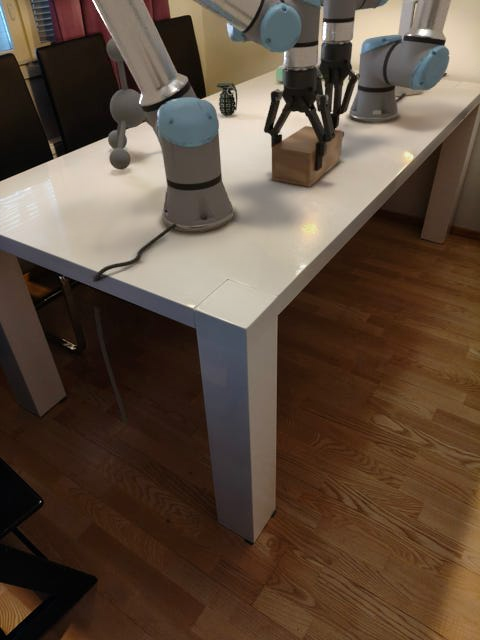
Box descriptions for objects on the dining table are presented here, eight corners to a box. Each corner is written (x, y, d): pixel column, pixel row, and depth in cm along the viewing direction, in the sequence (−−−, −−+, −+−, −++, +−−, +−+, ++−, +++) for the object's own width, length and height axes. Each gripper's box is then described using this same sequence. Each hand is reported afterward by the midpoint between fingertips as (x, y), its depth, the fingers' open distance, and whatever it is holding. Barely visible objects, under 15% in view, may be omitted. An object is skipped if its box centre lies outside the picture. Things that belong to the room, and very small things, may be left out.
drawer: (319, 143, 139) (320, 121, 135) (349, 148, 135) (351, 125, 131) (280, 171, 124) (280, 147, 120) (313, 177, 120) (314, 152, 116)
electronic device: (392, 97, 177) (405, -1, 159) (382, 92, 183) (394, -3, 165) (423, 93, 180) (439, -4, 161) (412, 88, 185) (426, -6, 167)
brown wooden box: (304, 156, 134) (305, 125, 130) (339, 161, 130) (341, 130, 125) (271, 179, 122) (271, 147, 117) (309, 186, 118) (310, 153, 113)
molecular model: (192, 161, 135) (179, 37, 117) (113, 175, 129) (86, 48, 111) (170, 137, 153) (156, 27, 134) (100, 149, 147) (74, 35, 128)
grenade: (217, 117, 168) (214, 86, 162) (221, 112, 172) (219, 82, 166) (235, 117, 166) (233, 86, 160) (239, 113, 171) (238, 82, 165)
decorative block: (298, 54, 217) (339, 57, 208) (298, 70, 221) (338, 74, 211) (267, 65, 201) (310, 69, 191) (267, 82, 205) (309, 87, 195)
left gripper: (356, 66, 105) (347, 167, 118) (263, 60, 115) (265, 154, 128) (342, 73, 100) (334, 178, 113) (247, 66, 110) (250, 163, 123)
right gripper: (368, 40, 119) (357, 138, 133) (318, 38, 124) (314, 132, 139) (356, 45, 114) (347, 147, 128) (306, 42, 119) (302, 140, 134)
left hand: (297, 165), depth 121 cm, fingers closed on brown wooden box, 10 cm apart
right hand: (330, 139), depth 133 cm, fingers closed
